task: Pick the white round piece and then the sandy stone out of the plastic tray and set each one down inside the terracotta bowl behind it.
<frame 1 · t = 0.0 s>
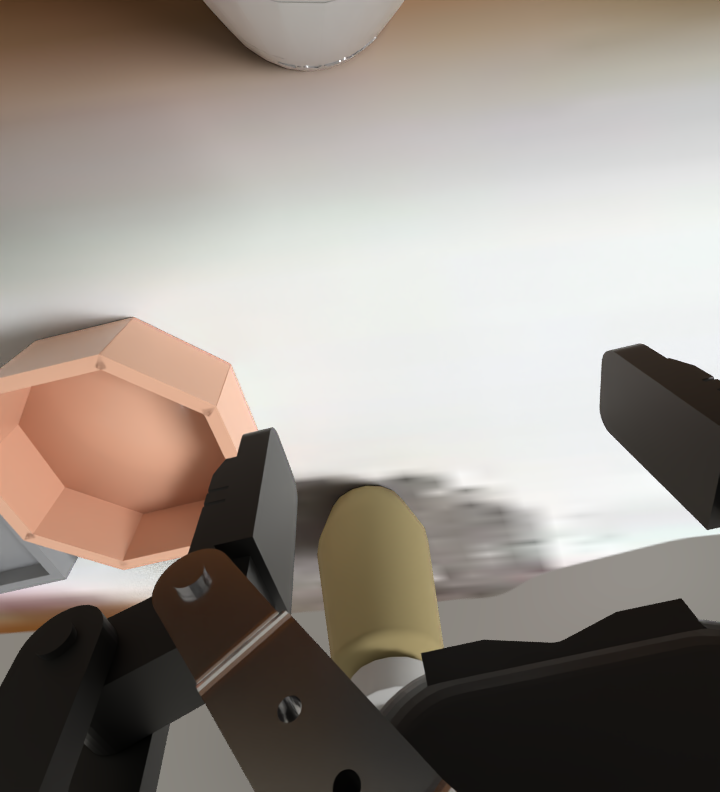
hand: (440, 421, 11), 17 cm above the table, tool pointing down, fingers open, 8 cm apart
bowl: (141, 428, 31), on the table
squeeze bottle: (367, 509, 36), on the table
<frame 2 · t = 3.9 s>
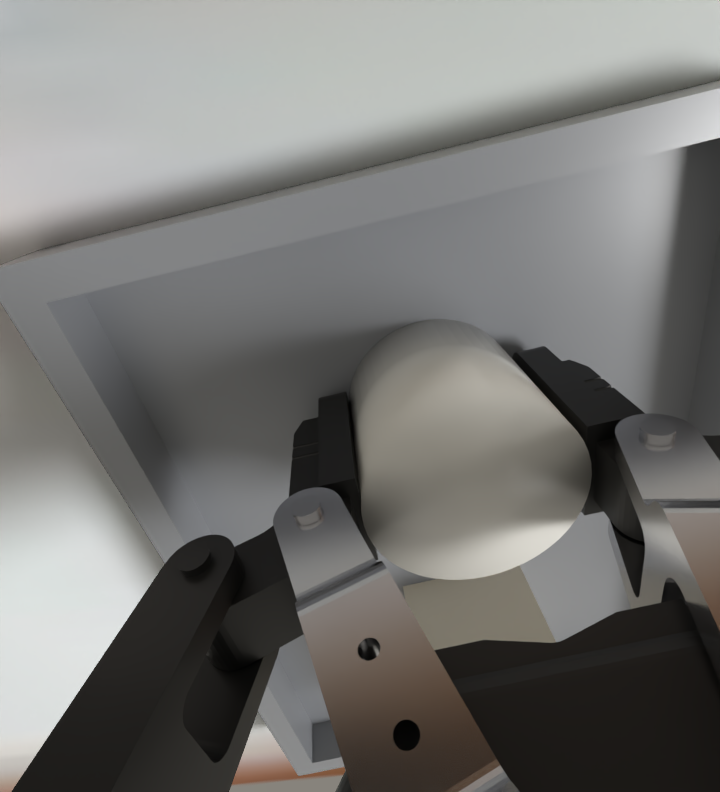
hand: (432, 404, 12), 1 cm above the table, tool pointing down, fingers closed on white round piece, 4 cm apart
sandy stone: (467, 618, 17), point 1 cm above the table, touching parts tray
white round piece: (431, 398, 12), point 1 cm above the table, touching gripper, parts tray
parts tray: (447, 512, 15), on the table
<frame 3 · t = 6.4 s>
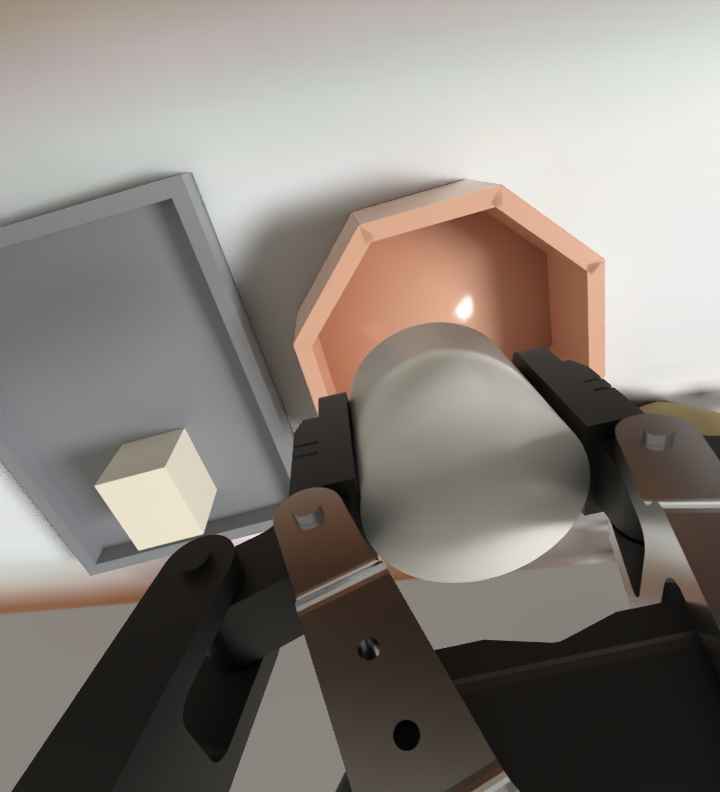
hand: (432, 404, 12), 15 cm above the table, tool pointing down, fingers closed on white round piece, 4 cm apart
sandy stone: (171, 467, 29), point 1 cm above the table, touching parts tray
white round piece: (430, 400, 12), point 15 cm above the table, touching gripper
bowl: (433, 327, 27), on the table
parts tray: (138, 399, 27), on the table
squeeze bottle: (644, 435, 32), on the table
when the fingers open (3 cm above the table, at t = 9.0 s): white round piece drops 2 cm, resting on bowl.
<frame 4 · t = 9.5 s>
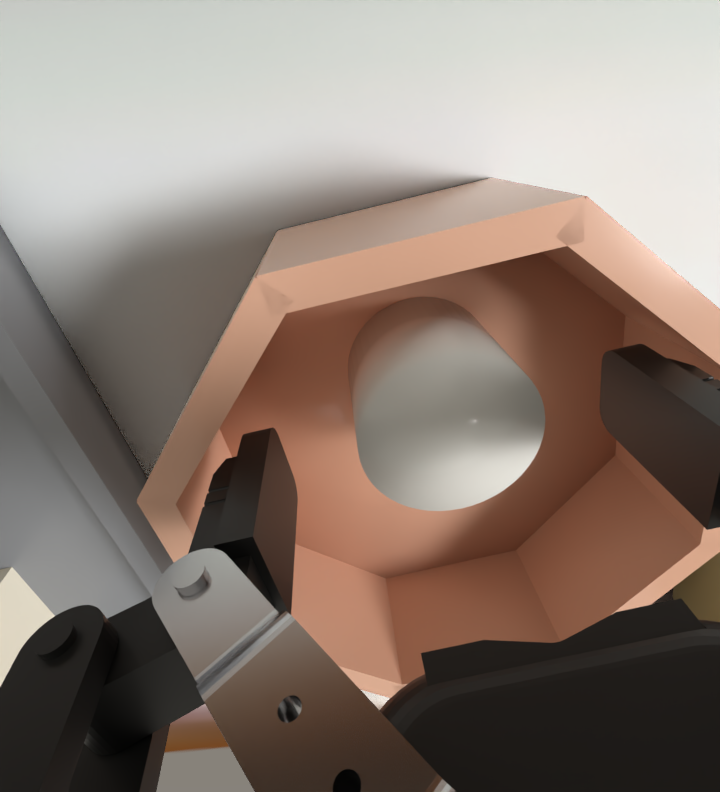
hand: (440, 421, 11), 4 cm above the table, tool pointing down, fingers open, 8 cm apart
sandy stone: (1, 619, 18), point 1 cm above the table, touching parts tray
white round piece: (418, 366, 14), point 1 cm above the table, touching bowl
bowl: (422, 422, 16), on the table
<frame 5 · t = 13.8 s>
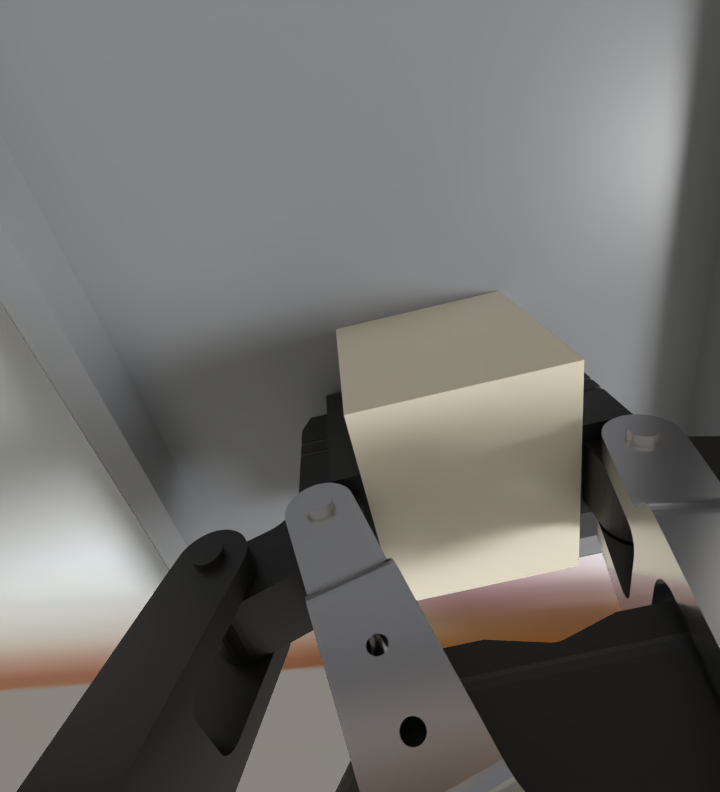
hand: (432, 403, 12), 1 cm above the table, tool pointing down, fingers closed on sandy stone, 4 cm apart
sandy stone: (431, 398, 12), point 1 cm above the table, touching gripper, parts tray
parts tray: (396, 206, 10), on the table
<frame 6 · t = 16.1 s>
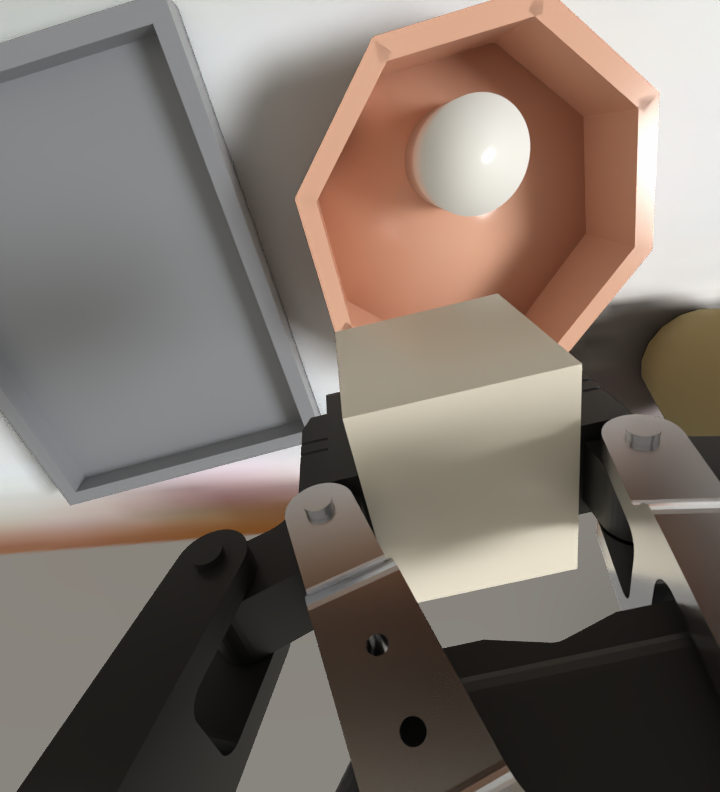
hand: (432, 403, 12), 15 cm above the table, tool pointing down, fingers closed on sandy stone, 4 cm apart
sandy stone: (430, 400, 12), point 14 cm above the table, touching gripper
white round piece: (450, 157, 22), point 1 cm above the table, touching bowl
bowl: (452, 212, 24), on the table
parts tray: (121, 297, 24), on the table
squeeze bottle: (682, 352, 29), on the table
when the fingers open (3 cm above the table, at t = 18.7 s): sandy stone drops 2 cm, resting on bowl.
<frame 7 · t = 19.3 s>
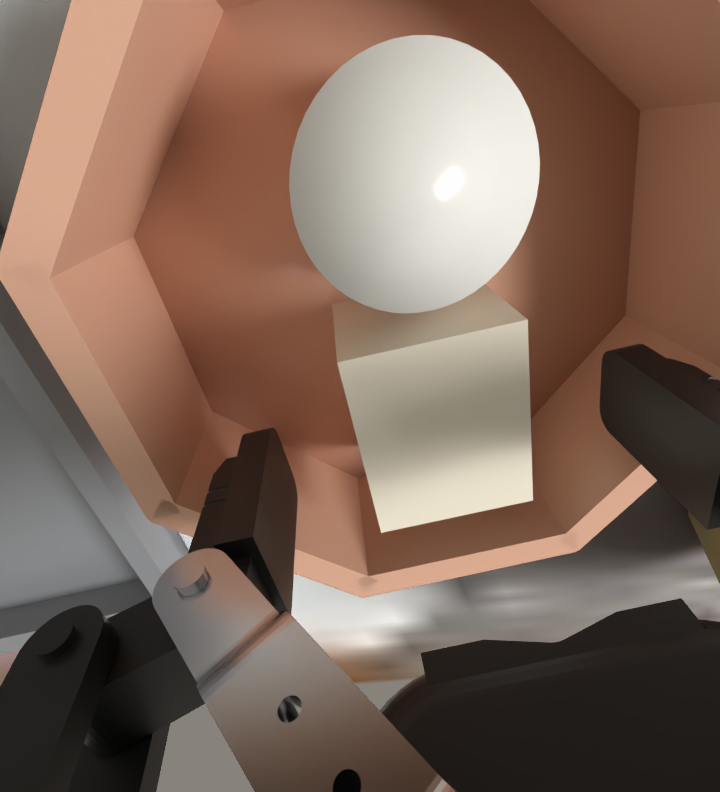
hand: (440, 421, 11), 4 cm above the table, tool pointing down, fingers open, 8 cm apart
sandy stone: (414, 366, 14), point 1 cm above the table, touching bowl
white round piece: (386, 177, 12), point 1 cm above the table, touching bowl
bowl: (395, 272, 13), on the table
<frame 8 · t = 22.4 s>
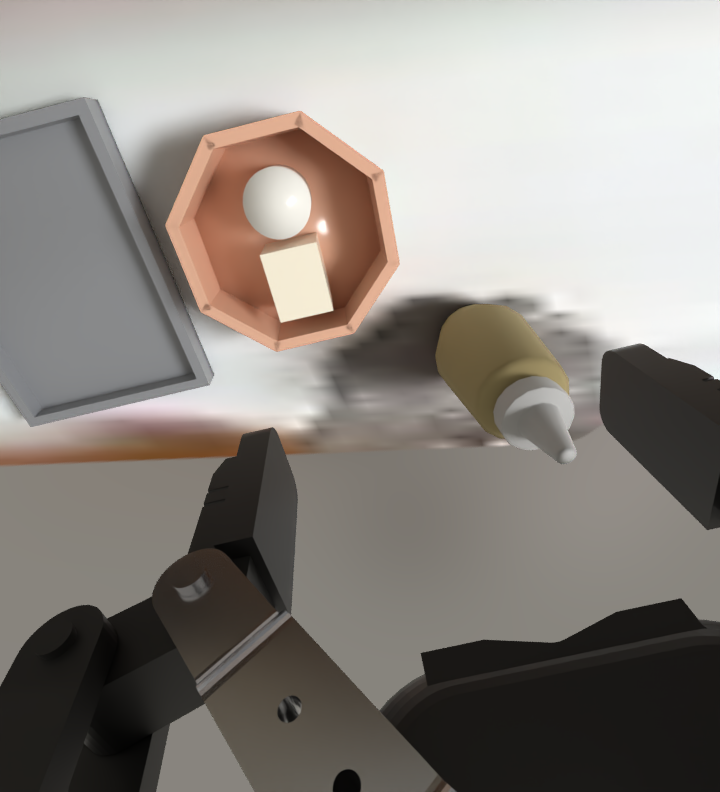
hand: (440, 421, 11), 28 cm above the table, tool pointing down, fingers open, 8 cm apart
sandy stone: (299, 270, 36), point 1 cm above the table, touching bowl
white round piece: (281, 198, 33), point 1 cm above the table, touching bowl
bowl: (290, 232, 35), on the table
parts tray: (66, 281, 36), on the table
squeeze bottle: (470, 334, 41), on the table
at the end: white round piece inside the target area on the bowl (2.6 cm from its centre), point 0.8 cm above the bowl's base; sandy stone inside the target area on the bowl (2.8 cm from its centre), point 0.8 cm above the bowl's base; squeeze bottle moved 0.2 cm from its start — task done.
